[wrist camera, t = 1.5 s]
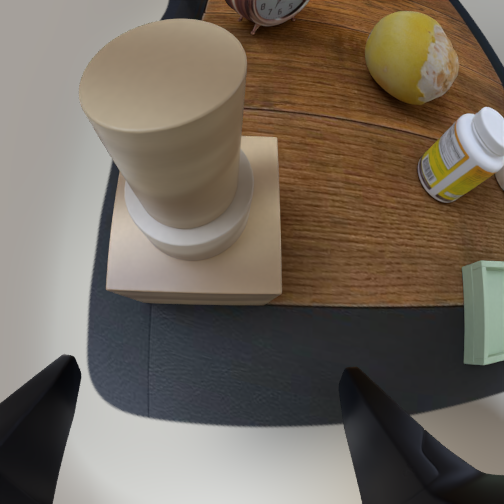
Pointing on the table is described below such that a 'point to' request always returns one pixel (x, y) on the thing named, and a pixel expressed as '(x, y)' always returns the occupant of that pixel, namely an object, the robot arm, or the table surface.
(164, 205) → the tan cylindrical piece
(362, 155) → the table surface
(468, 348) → the mint green tray
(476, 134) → the supplement bottle
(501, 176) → the cup
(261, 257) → the stand
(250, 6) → the alarm clock
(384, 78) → the fruit
